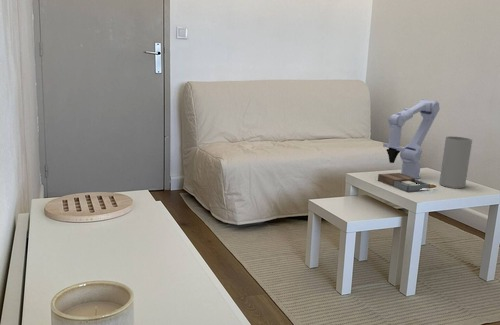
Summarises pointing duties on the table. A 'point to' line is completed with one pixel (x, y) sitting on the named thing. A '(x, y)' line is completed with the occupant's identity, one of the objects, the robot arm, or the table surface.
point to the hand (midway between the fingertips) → (391, 162)
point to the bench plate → (394, 178)
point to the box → (411, 188)
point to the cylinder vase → (455, 162)
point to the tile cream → (407, 182)
